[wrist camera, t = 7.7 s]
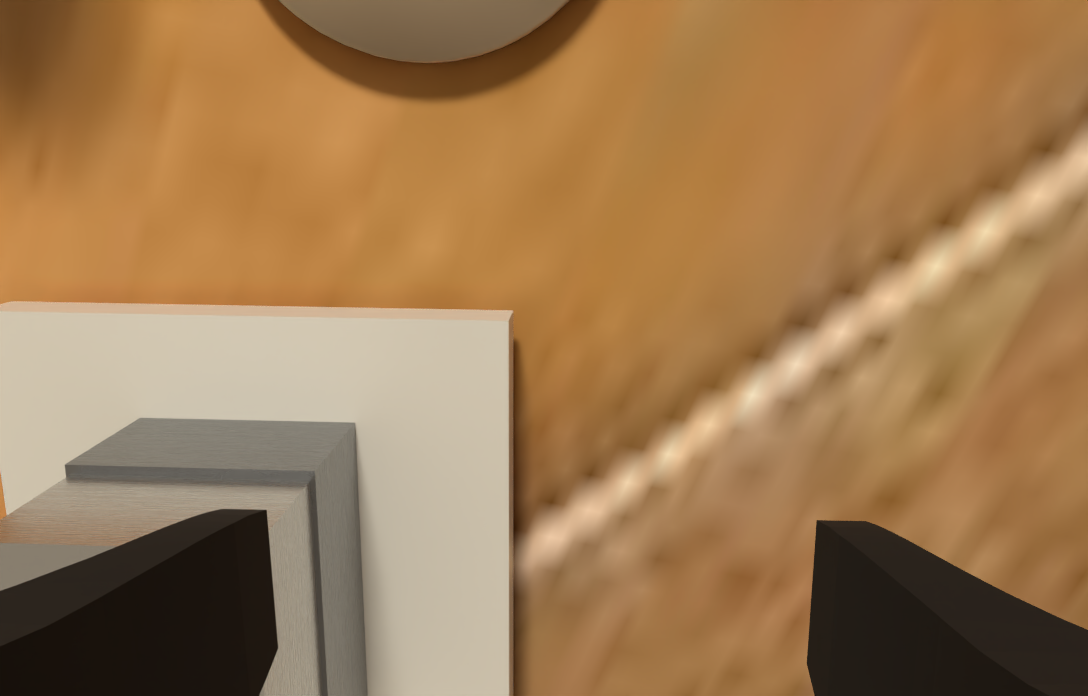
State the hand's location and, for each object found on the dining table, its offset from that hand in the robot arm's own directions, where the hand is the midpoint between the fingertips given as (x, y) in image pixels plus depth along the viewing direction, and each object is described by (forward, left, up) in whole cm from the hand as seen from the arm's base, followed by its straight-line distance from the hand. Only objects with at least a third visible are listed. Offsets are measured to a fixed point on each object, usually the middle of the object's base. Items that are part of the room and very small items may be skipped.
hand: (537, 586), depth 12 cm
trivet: (-4, +7, -10) cm, 13 cm away
